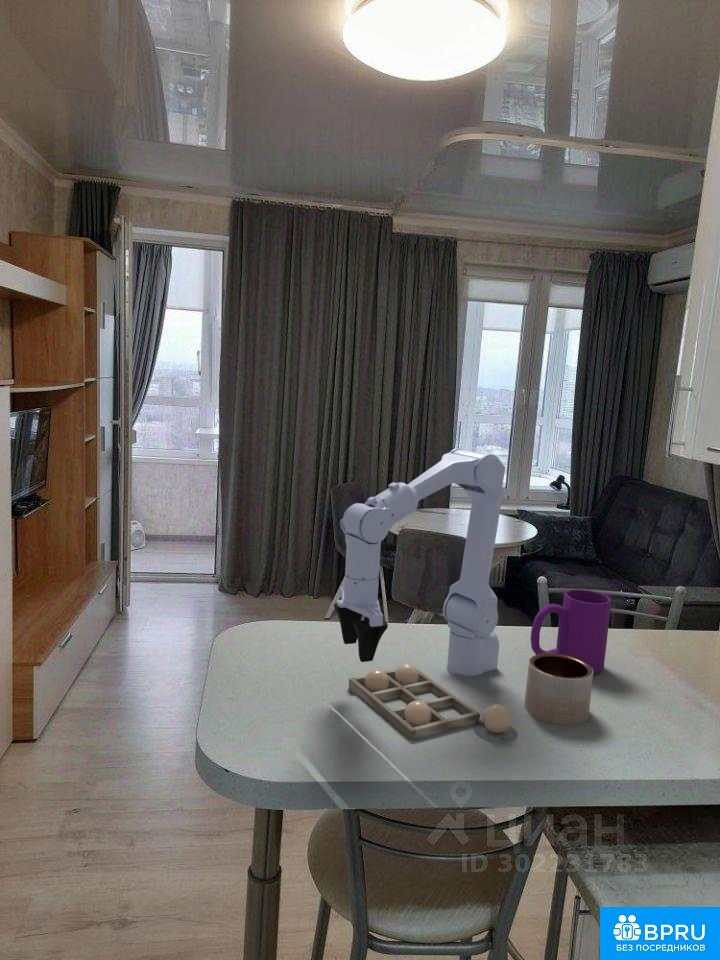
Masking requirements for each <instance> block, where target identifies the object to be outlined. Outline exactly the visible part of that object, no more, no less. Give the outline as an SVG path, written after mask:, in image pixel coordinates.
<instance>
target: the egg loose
mask: <svg viewBox="0 0 720 960" xmlns="http://www.w3.org/2000/svg"><path fill="white" fill-rule="evenodd" d="M511 718H512V717H511V714H510V712H509V710H508V709H507V708H506V707H505V706H503V705H501V704H496V703H495V704H491V705H489V706H487V707H485V710H484V711H483V713H482V720H483V723H484V725H485V727H486V728H487V729H488V730H489V731H491V732H493V733H502V732H504V731H506V730H507V729H508V727H509V725H510V726H511V721H512V720H511Z"/></svg>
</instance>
